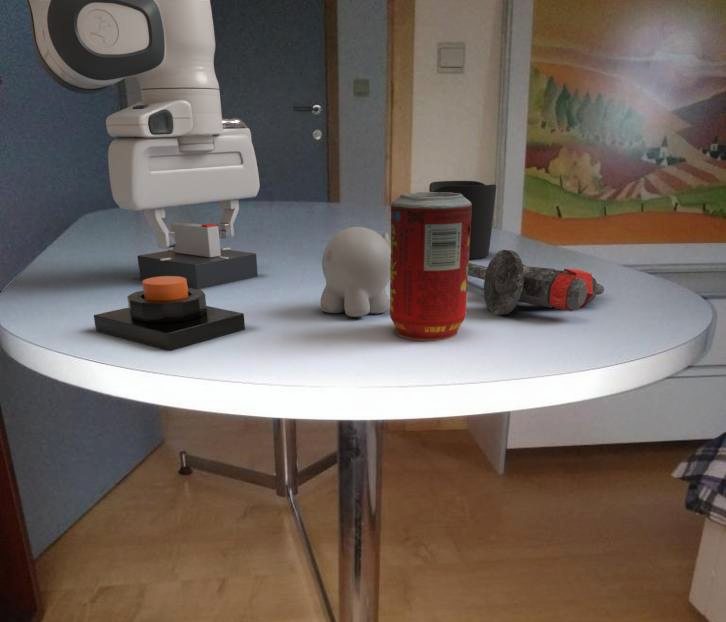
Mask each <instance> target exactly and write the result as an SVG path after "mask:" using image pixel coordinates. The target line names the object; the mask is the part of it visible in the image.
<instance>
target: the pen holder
mask: <svg viewBox="0 0 726 622" xmlns="http://www.w3.org/2000/svg"><path fill="white" fill-rule="evenodd" d="M428 186H429V187H428V188H429V189H428V190H429V191H428V192H439V193H440V192H447V193H460V194H462V195H463V196H464V197H465V198H466V199H467V200H469V201H470V202H471V204H472V215H471V232H470V250H469V261H476V260H482V259H485V258H487V257H488V256H489V255H490V254H489V253H490V246H491V240H492V230H493V223H494V222H493V221H494V213H495V203H496V194H497V185H496V184H494V183H493V184H485V183H484V182H480V181H476V180H441V181H440V180H439V181H438V180H437V181H432V182H430V183H429V185H428Z"/></svg>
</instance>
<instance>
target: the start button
mask: <svg viewBox="0 0 726 622" xmlns="http://www.w3.org/2000/svg"><path fill="white" fill-rule="evenodd" d="M141 283H142V284H141V285H142V291H144V298H145V299H146V300H159V301H165V300H176V299H181V298H186V297H189V296H188V287H187V279H186V278H184V277H178V276H161V277H153V278H148V279H145V280H144V279H142V282H141Z"/></svg>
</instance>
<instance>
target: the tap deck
mask: <svg viewBox="0 0 726 622" xmlns="http://www.w3.org/2000/svg"><path fill="white" fill-rule="evenodd" d="M166 249H167V250H163V251H158V252H157V251H156V252H151V253H145V254H140V255H138V254H137V265H138V271H139V278H140V280H145V279H148V278H153V277H161V276H178V277H184V278H186V279H187V287H188V288H193V289H198V290H202V289H207V288H211V287H217V286H221V285H225V284H230V283H234V282H240V281H245V280H249V279H253V278H258V276H259V273H258V259H257V253H255V252H249V251H240V250H234V249H232V248H231V247H224V248H220V251H221V256H217V257H211V258H209V257H202V256H196V255H189V254H182V253H175V252H174V251H173V248H166Z"/></svg>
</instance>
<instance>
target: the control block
mask: <svg viewBox="0 0 726 622" xmlns="http://www.w3.org/2000/svg"><path fill="white" fill-rule="evenodd" d="M188 296H189V297H186V298H181V299H176V300H165V301H159V300H146V299H145V298H144V291H143V290H138V291H135V292H132V293H131V294H128V295H127V305H128V307H123V308H119V309H115V310H111V311H105V312H102V313H97V314H93V321H94V326H95V331H96V332H97V333H99V334H100V333H101V334H104V335H108V336H110V337H111V336H112V337H115V338H119V339H124V340H127V341H130V342H135V343H137V344H142V345H145V346H149V347H153V348H157V349H161V350H164V351H167V352H173V351H176V350H179V349H183V348H186V347H189V346H193V345H196V344H200V343H203V342H207V341H211V340H214V339H218V338H221V337H225V336H228V335H232V334H235V333H238V332H242V331H245V330H246V324H245V314H244V312H238V311H233V310H229V309H223V308H219V307H215V306H209V305H207V301H206V300H207V299H206V293H205V292H204V291H203V290H202V289H193V288H188Z"/></svg>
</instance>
